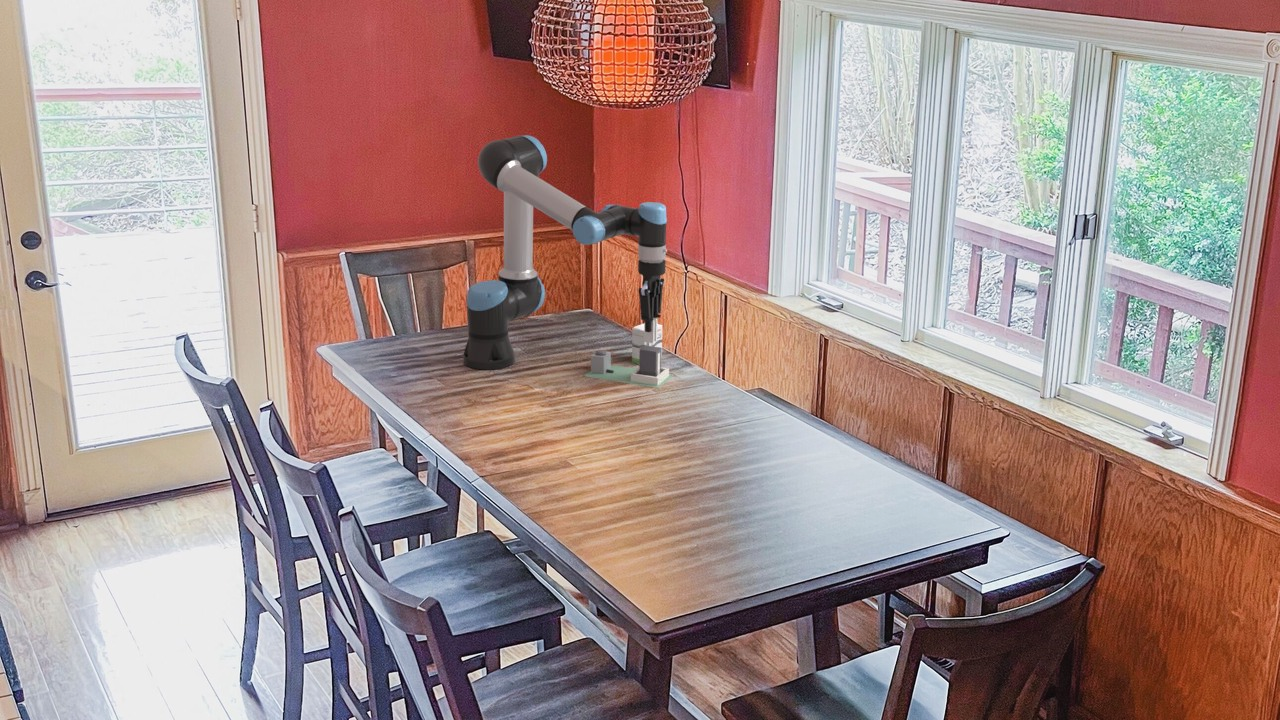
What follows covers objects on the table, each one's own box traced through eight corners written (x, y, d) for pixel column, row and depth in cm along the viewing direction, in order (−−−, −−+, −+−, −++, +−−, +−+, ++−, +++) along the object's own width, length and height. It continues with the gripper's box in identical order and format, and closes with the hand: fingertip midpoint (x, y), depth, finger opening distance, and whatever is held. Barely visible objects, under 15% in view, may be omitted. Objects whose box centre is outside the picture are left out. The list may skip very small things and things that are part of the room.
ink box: (644, 369, 364) (644, 330, 360) (631, 365, 367) (631, 327, 363) (662, 362, 370) (663, 324, 366) (649, 358, 373) (650, 320, 369)
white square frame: (630, 381, 351) (630, 374, 350) (643, 371, 359) (643, 364, 358) (657, 385, 348) (657, 378, 347) (669, 375, 356) (669, 368, 355)
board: (583, 380, 355) (583, 376, 354) (601, 367, 365) (601, 363, 365) (658, 392, 346) (658, 388, 346) (674, 378, 357) (674, 374, 356)
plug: (639, 379, 352) (639, 349, 349) (644, 375, 356) (645, 345, 353) (655, 382, 350) (656, 351, 347) (661, 377, 354) (661, 347, 351)
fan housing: (590, 371, 358) (590, 353, 356) (598, 366, 362) (598, 348, 360) (610, 375, 355) (610, 356, 354) (617, 369, 360) (617, 351, 358)
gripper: (654, 267, 334) (653, 350, 342) (674, 255, 346) (672, 335, 354) (628, 264, 337) (628, 346, 344) (649, 252, 349) (648, 332, 357)
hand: (650, 341), depth 349 cm, fingers closed
